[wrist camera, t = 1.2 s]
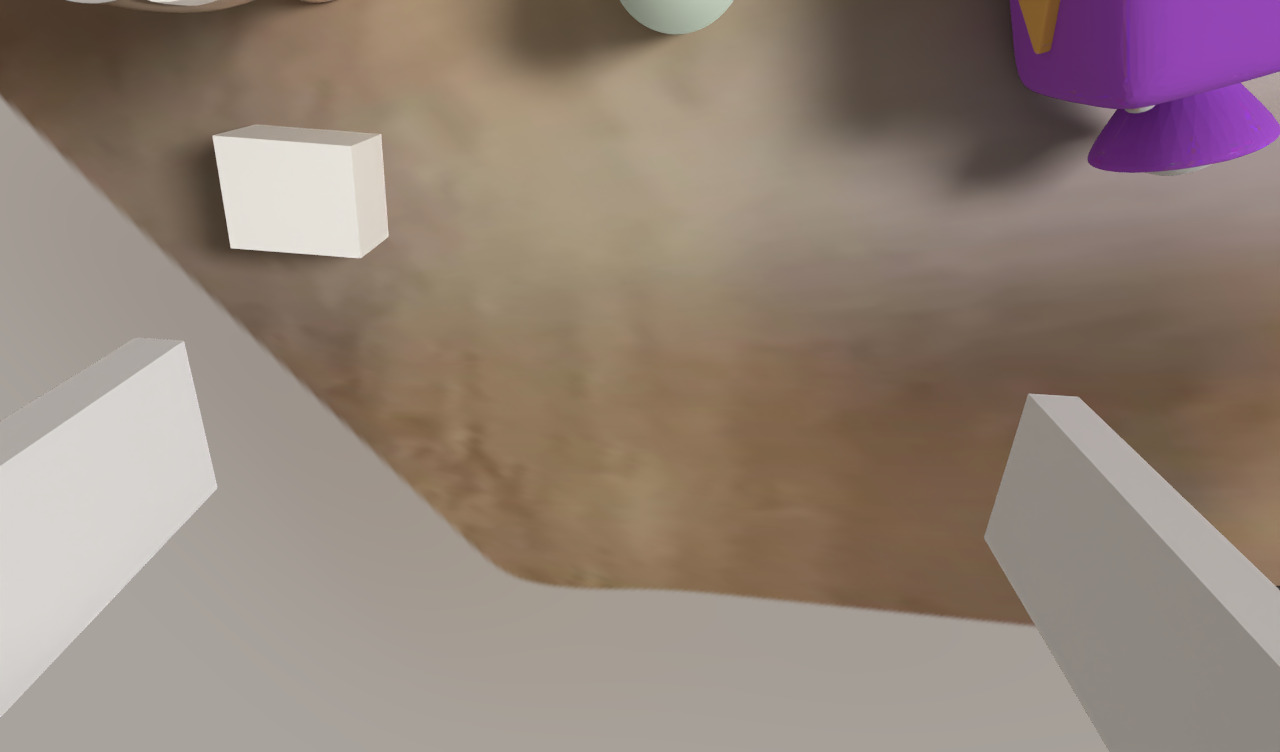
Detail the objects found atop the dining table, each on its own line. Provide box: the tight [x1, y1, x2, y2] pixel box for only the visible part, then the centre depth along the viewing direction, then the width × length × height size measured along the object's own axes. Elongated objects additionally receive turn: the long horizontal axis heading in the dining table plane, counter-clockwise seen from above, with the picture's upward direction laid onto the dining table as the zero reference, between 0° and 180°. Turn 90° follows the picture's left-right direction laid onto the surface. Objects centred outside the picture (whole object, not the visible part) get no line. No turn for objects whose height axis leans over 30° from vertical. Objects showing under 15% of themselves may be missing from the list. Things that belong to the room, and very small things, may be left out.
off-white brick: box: [213, 124, 389, 258], centre depth 36 cm, size 6×5×4 cm
